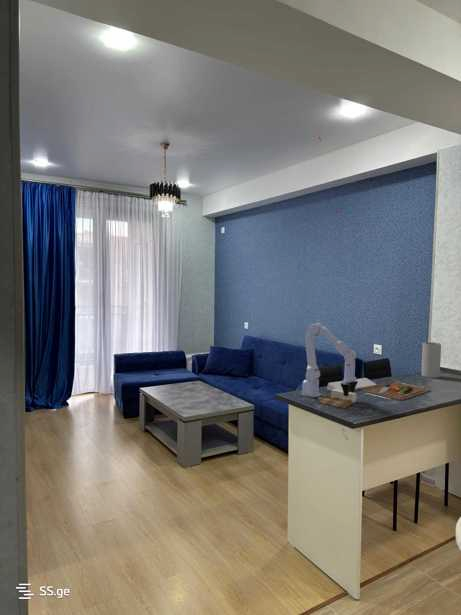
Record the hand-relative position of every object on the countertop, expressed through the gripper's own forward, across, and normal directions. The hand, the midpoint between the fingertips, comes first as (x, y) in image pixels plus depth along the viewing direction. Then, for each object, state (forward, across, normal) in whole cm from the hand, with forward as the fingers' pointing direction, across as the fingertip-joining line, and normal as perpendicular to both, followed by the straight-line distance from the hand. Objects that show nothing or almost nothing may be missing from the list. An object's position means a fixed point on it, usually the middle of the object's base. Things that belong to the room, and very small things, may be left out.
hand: (348, 394), depth 238 cm
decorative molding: (+4, +30, +11) cm, 33 cm away
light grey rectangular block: (+4, 0, +3) cm, 5 cm away
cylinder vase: (+4, +106, -17) cm, 107 cm away
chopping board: (+4, +43, -13) cm, 45 cm away
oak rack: (+4, -11, +3) cm, 12 cm away
